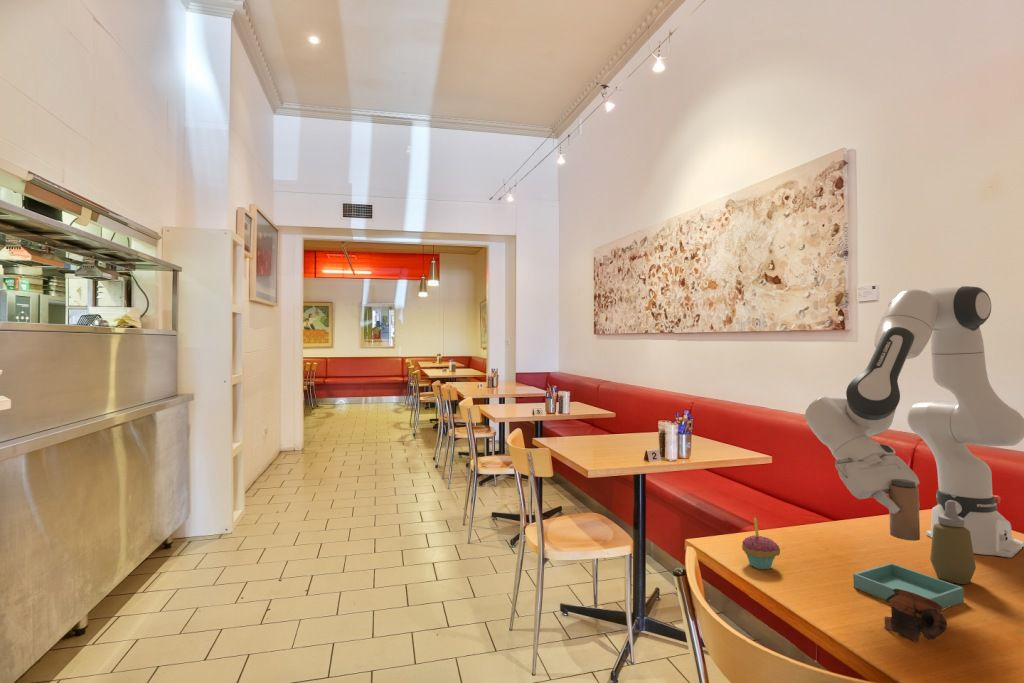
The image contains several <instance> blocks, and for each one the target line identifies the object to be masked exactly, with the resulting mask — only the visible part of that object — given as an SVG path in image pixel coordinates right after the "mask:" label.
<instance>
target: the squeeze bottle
mask: <svg viewBox="0 0 1024 683" xmlns="http://www.w3.org/2000/svg"><path fill="white" fill-rule="evenodd" d="M938 522H939V523H936V524H935V525H934V526H933V536H932V538H931V546H930V547H931V548H930V560H929V561H930V562H931V565H932V568H933V570H934V573H935V575H936V576H937V577H938V579H939V578H940V580H942V581H945V582H948V583H952V584H953V583H955V584H960V585H961V584H962V585H966V584H969V583H971V580H972V578H973V576H974V573H975V572H976V569H977V568H976V567H977V566H976V560H975V553H973V547H972V541H971V535H970V531H969V530H968V529H967V528H965V527H964V519H963V518H962V517H959V516H958V514H957V511H956V508H955V505H954V502H953V501H947V504H946V508H945V512H944V514H940V515H938Z"/></svg>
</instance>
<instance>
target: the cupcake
mask: <svg viewBox="0 0 1024 683" xmlns="http://www.w3.org/2000/svg"><path fill="white" fill-rule="evenodd" d="M753 516H754V518H753V523H754V530H755V531H754V532H755V533H754V535H750V536H747V537H744V539H743V540H742V544H741V548H742V549H741V550H742V551H743V552H744V553H745V554H746V557H747V560H748V564H749V565H750V566H751V565H752V566H754V567H756V568H755V569H757V568H759V569H758V570H763V569H767V570H769V569H771V568H772V565H773V563H774V560H775V558H776V556H779V555H780V554H781V548H780V546H779V545H778V544H777V543H776V542H775V541H774V540H773V539H771V538H769V537H765V536H761V535H760V534H759V527H758V518H756V515H755V514H754V515H753ZM752 566H751V567H752ZM754 567H753V568H754Z"/></svg>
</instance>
